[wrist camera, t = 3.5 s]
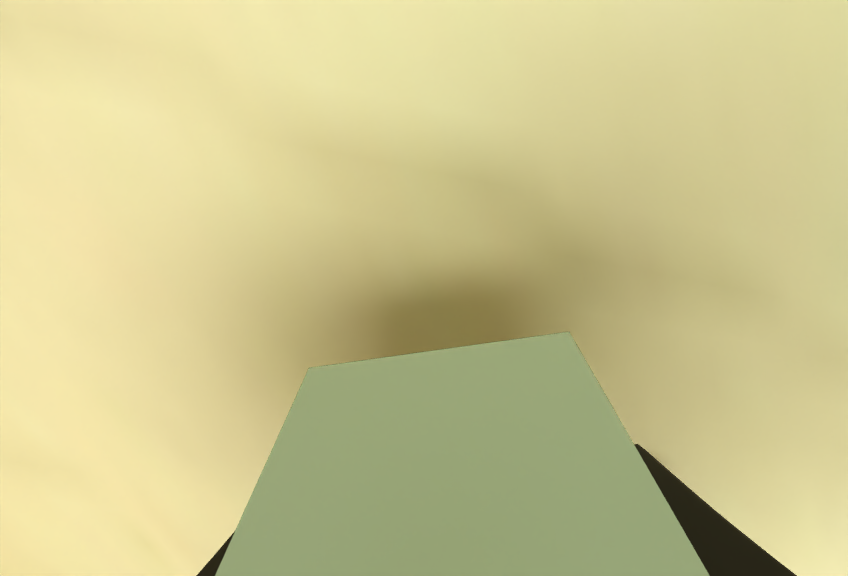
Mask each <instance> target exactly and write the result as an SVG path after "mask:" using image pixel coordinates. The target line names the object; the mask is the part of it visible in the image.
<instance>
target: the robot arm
mask: <svg viewBox="0 0 848 576" xmlns="http://www.w3.org/2000/svg"><path fill="white" fill-rule="evenodd" d="M634 445H635V447H636V449H637V450H638V452H639V454H640V456H641V457H642V459H643V461H644V463H645V464H646V466H647V468H648V470H649V471H650V473H651V475H652V477H653V478H654V480H655V482H656V484H657V485H658V487H659V489H660V490H661V492H662V494H663V496H664V497H665V499H666V501H667V503H668V504H669V506H670V508H671V510H672V511H673V513H674V515H675V517H676V518H677V520H678V522H679V523H680V525H681V527H682V529H683V530H684V532H685V534H686V536H687V537H688V539H689V541H690V543H691V544H692V546H693V548H694V550H695V551H696V553H697V555H698V557H699V558H700V560H701V562H702V563H703V565H704V567H705V569H706V570H707V572H708V574H709V576H797V575H795V574H794V573H793V572H791V571H790V570H789V569H788V568H786V567H785V566H784V565H782V564H781V563H780V562H778V561H777V560H776V559H775V558H773V557H772V556H771V555H770V554H768V553H767V552H766V551H765V550H763V549H762V548H761V547H760V546H758V545H757V544H756V543H755V542H753V541H752V540H751V539H750V538H748V537H747V536H746V535H745V534H743V533H742V532H741V531H740V530H738V529H737V528H736V527H735V526H733V525H732V524H731V523H730V522H728V521H727V520H726V519H725V518H724V517H722V516H721V515H720V514H719V513H718V512H716V511H715V510H714V509H713V508H712V507H710V506H709V505H708V504H707V503H706V502H705V501H703V500H702V499H701V498H700V497H699V496H698V495H696V494H695V493H694V492H693V491H692V490H691V489H689V488H688V487H687V486H686V485H685V484H684V483H682V482H681V481H680V480H679V479H678V478H677V477H676V476H674V475H673V474H672V473H671V472H670V471H669V470H668V469H666V468H665V467H664V466H663V465H662V464H661V463H660V462H659V461H657V460H656V459H655V458H654V457H653V456H652V455H651V454H649V453H648V452H647V451H646V450H645V449H643V448H642V447H641V446H640V445H638V444H634ZM234 533H235V532H234ZM234 533H233V534H232V535H231V536H230V538H229V539H228V540H227V541H226V542H225V543H224V545H223V546H222V547H221V548H220V549H219V551H218V552H217V553H216V554H215V555H214V556H213V558H212V559H211V560H210V561H209V562H208V563H207V564H206V566H205V567H204V568H203V569H202V570H201V571H200V572H199V574H198V575H197V576H215V575H216V573H217V570H218V568H219V566H220V564H221V561H222V559H223V557H224V555H225V553H226V550H227V548H228V546H229V544H230V542H231V539H232V537H233V535H234Z"/></svg>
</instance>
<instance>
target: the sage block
mask: <svg viewBox="0 0 848 576" xmlns="http://www.w3.org/2000/svg"><path fill="white" fill-rule="evenodd" d="M215 576H709V574H708V572H707V570H706V569H705V567H704V565H703V563H702V562H701V560H700V558H699V557H698V555H697V553H696V551H695V550H694V548H693V546H692V544H691V543H690V541H689V539H688V537H687V536H686V534H685V532H684V530H683V529H682V527H681V525H680V523H679V522H678V520H677V518H676V517H675V515H674V513H673V511H672V510H671V508H670V506H669V504H668V503H667V501H666V499H665V497H664V496H663V494H662V492H661V490H660V489H659V487H658V485H657V484H656V482H655V480H654V478H653V477H652V475H651V473H650V471H649V470H648V468H647V466H646V464H645V463H644V461H643V459H642V457H641V456H640V454H639V452H638V450H637V449H636V447H635V445H634V444H633V442H632V440H631V438H630V437H629V435H628V433H627V431H626V430H625V428H624V426H623V424H622V423H621V421H620V419H619V417H618V416H617V414H616V412H615V411H614V409H613V407H612V405H611V404H610V402H609V400H608V398H607V397H606V395H605V393H604V391H603V390H602V388H601V386H600V384H599V383H598V381H597V379H596V377H595V376H594V374H593V372H592V371H591V369H590V367H589V365H588V364H587V362H586V360H585V358H584V357H583V355H582V353H581V351H580V350H579V348H578V346H577V344H576V343H575V341H574V339H573V338H572V336H571V334H570V332H563V333H556V334H549V335H542V336H535V337H527V338H520V339H513V340H506V341H499V342H491V343H484V344H477V345H470V346H463V347H455V348H448V349H441V350H434V351H427V352H419V353H412V354H405V355H398V356H391V357H384V358H376V359H369V360H362V361H355V362H348V363H340V364H333V365H326V366H319V367H312V368H309V369H308V371H307V373H306V376H305V378H304V380H303V382H302V385H301V387H300V389H299V391H298V393H297V396H296V398H295V400H294V402H293V404H292V407H291V409H290V411H289V413H288V415H287V418H286V420H285V422H284V424H283V427H282V429H281V431H280V433H279V435H278V438H277V440H276V442H275V444H274V446H273V449H272V451H271V453H270V455H269V458H268V460H267V462H266V464H265V466H264V469H263V471H262V473H261V475H260V477H259V480H258V482H257V484H256V486H255V488H254V491H253V493H252V495H251V497H250V500H249V502H248V504H247V506H246V508H245V511H244V513H243V515H242V517H241V519H240V522H239V524H238V526H237V528H236V530H235V533H234V535H233V537H232V539H231V542H230V544H229V546H228V548H227V550H226V553H225V555H224V557H223V559H222V561H221V564H220V566H219V568H218V570H217V573H216V575H215Z"/></svg>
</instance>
